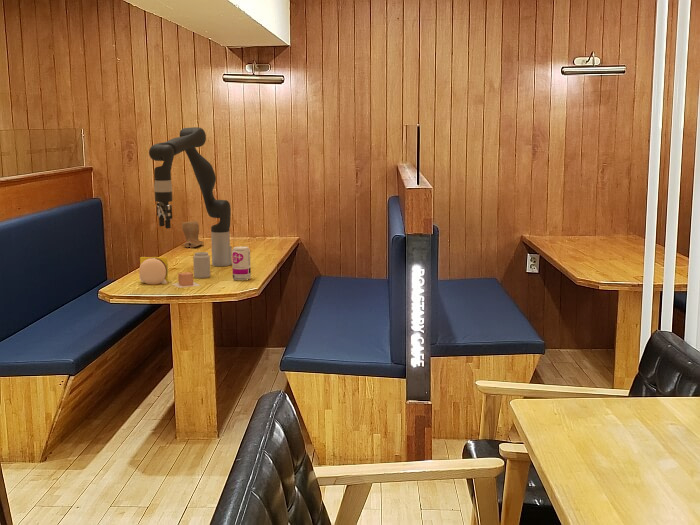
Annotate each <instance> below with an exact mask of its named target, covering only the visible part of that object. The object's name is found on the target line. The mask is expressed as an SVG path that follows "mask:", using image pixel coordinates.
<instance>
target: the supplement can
mask: <svg viewBox="0 0 700 525" xmlns="http://www.w3.org/2000/svg"><path fill="white" fill-rule="evenodd" d="M251 269H252V268H251V250H250V247H249V246H245V245H244V246H240V245H239V246H234V247H233V248H232V279H233V280H234V281H236V280H246V281H248V280H247V279H249V280H250V279H251V277H252V275H251V274H252V273H251Z"/></svg>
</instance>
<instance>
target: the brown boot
mask: <svg viewBox="0 0 700 525" xmlns="http://www.w3.org/2000/svg"><path fill="white" fill-rule="evenodd" d="M181 226H182V228H181V229H182V232H183V233H184V234H183V235H184V237H185V240H186V242H185V243H183V244H182V246H183V247H186V248H188V247H190V248H189V249H192V248H196V247H199V246H202V245H203V244H204V243H205V242H204V241H201V240H199V234H200V225H199V222H198V221H195V220H194V221H186V222H182V224H181Z"/></svg>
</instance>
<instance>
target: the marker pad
mask: <svg viewBox="0 0 700 525" xmlns="http://www.w3.org/2000/svg"><path fill="white" fill-rule="evenodd" d="M193 284H194V285H189V286H181V285H179V282H178V283H177V282H176V283H171V285H173V286H175V287H177V288H179V289H180V288H181V289H182V288H191V287H199V286H201V284H199V283H197V282H195V281H193Z"/></svg>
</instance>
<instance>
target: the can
mask: <svg viewBox="0 0 700 525" xmlns="http://www.w3.org/2000/svg"><path fill="white" fill-rule="evenodd" d="M192 258H193V278H195V279H206V278H207V279H209V278H210V277H211V257H210V255H209V253H208V251H207V252H206V251H197V252H194V255H193V256H192Z"/></svg>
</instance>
